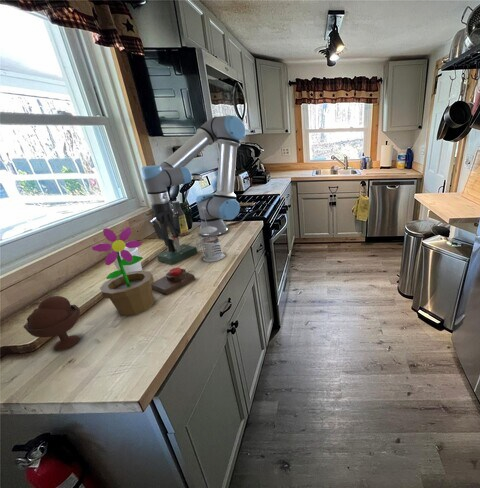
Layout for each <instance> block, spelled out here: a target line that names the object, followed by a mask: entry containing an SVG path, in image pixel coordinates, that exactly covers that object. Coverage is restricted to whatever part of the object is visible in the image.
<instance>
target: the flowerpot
mask: <svg viewBox="0 0 480 488" xmlns="http://www.w3.org/2000/svg"><path fill="white" fill-rule="evenodd" d="M102 231H103V236H104V237H105V239H106V240H107V241H109V242H112V243H111V244H110V243H108V242H101V243H97V244H95V245H93V246H92V247H91V249H92V251H96V252H98V253H99V252H101V253H102V252H108V251H110V250H111V251H112V252H111V251H110V252H108V254H107V255H106V256H105V259H104V264H105V265H106V266H111V265H112V264H114V263H113V262H114V261H115V260H116V258H117V261H118V264H119V267H120V269H121V270H118V269H117V270H114V271H111V272H110V273H109V274H108V275H107V276H106V277H105V278H106V281H104V283H102V285H101V286H100V287H99V289H100V292H101V294H102V297H103V298H104V299H109V300H110V301H111V303H112V304H113V306H114V307H115V309H116V310H117V312H118V314H119V315H120V316H124V317H128V316H134V315H138V314H140V313H142V312H145V311H147V310H148V309H150V308H151V307H152V306H153V304H154V303H155V299H154V293H153V289H152V287H151V284H152V282H154V281H155V278H154V276H153V274H152V273H151V272H150V271H149V270H142V271H133V272H128V273H125V270H124V267H123V265H132V264H135V263H137V262H139V261H140V260H143V256H140V257H139V256H135V255H134V256H132V255H131V254H130V252H129V251H127V250H124V248H125V247H128V248H137V247H138V248H139V247H140V246H142V241H139V240H135V239H134V240H128V239H129V238H130V236H131V235H132V228H131V227H129V226H127V227H125V228H123V229H122V230H121V232H120V233H119V239H118V238H117V235H116V233H115V232H114V231H113V230H111V229H109V228H108V227H105V228H103V230H102ZM126 240H128V241H127V242H126ZM119 251H120V254H119ZM120 255H121V257H122V258H123V259H122V260H121V258H120Z"/></svg>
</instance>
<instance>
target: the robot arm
mask: <svg viewBox="0 0 480 488" xmlns="http://www.w3.org/2000/svg"><path fill="white" fill-rule="evenodd" d="M246 135H247V130H246V126H245V123H244V122H243V120H242V119H241V118H240V117H239V116H237V115H232V114H231V115H230V114H228V115H221V116H212V117H211V118H209V119H208V120H206V121H205V122H204V123H202V125H201V126H199V127H198V128H197V129H196V133H195V134H193V135H192V136H191V137H190V138H189V139H188V140H187V141H186V142H184V143H183V144H182V145H181V146H180V147H179V148H178V149H177V150H175V151H174V152H173V153H171V155H169V156H168V157H167V158H166V159H165V160H164V161H162V162H161V163H160V164H159V165H157V164H156V165H155V164H154V165H145V166H141V168H140V171H141V172H140V173H141V177H142V180H143V184H144V186H145V189H146V192H147V196H148V199H149V202H150V207H151V209H152V212H153V214H154V215H153V219H150V220H149V221H148V222H149V223H150V224H151V225H152V227H153V230H154V232H155V233H156V236H157V238H158V240H161V241H164V245H165V247H167V246H168V249H167V250H169V252H174V249H173V245H172V242H171V239H169V237H174V238H178V241H179V242H180V240H179V237H180V236H179V235H178V234H180V233H181V230H180V223H179V213H174V212H173V205H172V201H170V200H171V199H170V195H169V192H168V188H169V187H173V186H180V185H181V186H182V185H186V184H190V183H191V182H192V179H193V176H192V172H191V171H190V169H189V168H188V167H186V166H187V165H188V164H190V162H191V161H192V160H193V159H195V158H196V157H197V156H198V155H199V154H200V153H201V152H202V151H203V150H205V148H207V147H208V146H212V145H213V144H214V143H215V142H217V143H218V145H219V150H218V151H219V153H218V166H217V167H218V168H217V182H216V184H217V185H216V191H214V192H211V193H205V194H201V195H197V196H196V198H195V203H196V206H197V210H198V214H199V218H200V226H199V230H201V229H202V228H204V227H209V226H211V227H215V228H217V231H216V232H213V233H210V234H200V236H201V237H208V236H217V237H218V236H222V235H224V234H226V233H227V232H228V230H229V229H228V226H232V225H235V224H239V223H241V222H242V221H244V219H246V218H247V216H248V215H250V214H253V213H256V212H257V211H263V209H262V208H257V209H256V210H253V211H251V212H248V213H247V214H245V215H244V217H243V218H242V219H240V220H239V221H236V222H235V221H234V222H231V223H228V224H226V223H225V221H232V220H234V219H236V217H237V216H239V214H240V211H241V205H240V204H239V201H238V200H237V195H236V194H235V193H234V192H235V182H236V181H235V179H236V166H237V165H236V164H237V153H238V152H237V151H238V148H239V147H240V146H241V141H242V140H243V139H244V138H245V137H246ZM201 207H205V209H203V210H204V212H203V210H201ZM204 214H205V216H204ZM205 219H206V221H205ZM206 223H207V225H206ZM168 228H169V231H170V234H171V236H169V232H168Z"/></svg>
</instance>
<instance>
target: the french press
mask: <svg viewBox="0 0 480 488" xmlns="http://www.w3.org/2000/svg"><path fill="white" fill-rule="evenodd" d="M203 209H205V207H201V210H203ZM203 212H204V210H203ZM204 216H205V214H204ZM205 221H206V219H205ZM206 225H207V223H206ZM216 231H217V228H215V227H211V226H209V227H204V228H202V229H201V230H200V229H199V230H198V234H199V236H198V237H197V240H196V242H198V241H199V242H198V243H199V244H196V248H197V250H199V251H201V252H203V255H204V257H203V258H202V260H203V261H204V262H208V263H209V262H210V263H211V262H217V261H218V262H219V261H220V260H222V259H223V258H225V257H226V255H225V253H223V251H222V246H221V241H220V239H219V237H218V236H208V237H205V236H202V235H201V234H210V233H213V232H216Z"/></svg>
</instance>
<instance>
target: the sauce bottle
mask: <svg viewBox="0 0 480 488" xmlns="http://www.w3.org/2000/svg"><path fill="white" fill-rule="evenodd" d="M171 206H172V211H173V212H174V213H179V223H180V230H181V233H180V234H178V235H179V236H178V237H182V236H186V235H188V234H189V228H188V223H187V218H186V215H185V212H184V211H183V210H182V208H181V202H180V201H179V200H173V201H171Z"/></svg>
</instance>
